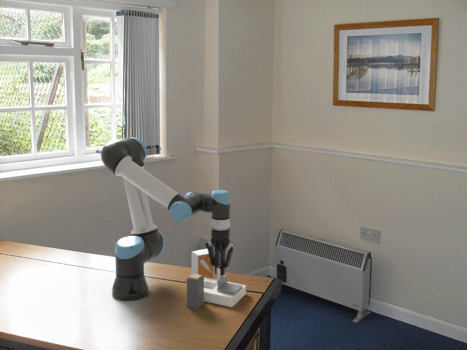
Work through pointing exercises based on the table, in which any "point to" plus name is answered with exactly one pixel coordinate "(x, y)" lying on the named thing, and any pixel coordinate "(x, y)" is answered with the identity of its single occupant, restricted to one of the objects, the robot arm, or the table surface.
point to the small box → (201, 263)
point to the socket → (221, 293)
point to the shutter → (227, 286)
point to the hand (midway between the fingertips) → (219, 282)
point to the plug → (195, 291)
